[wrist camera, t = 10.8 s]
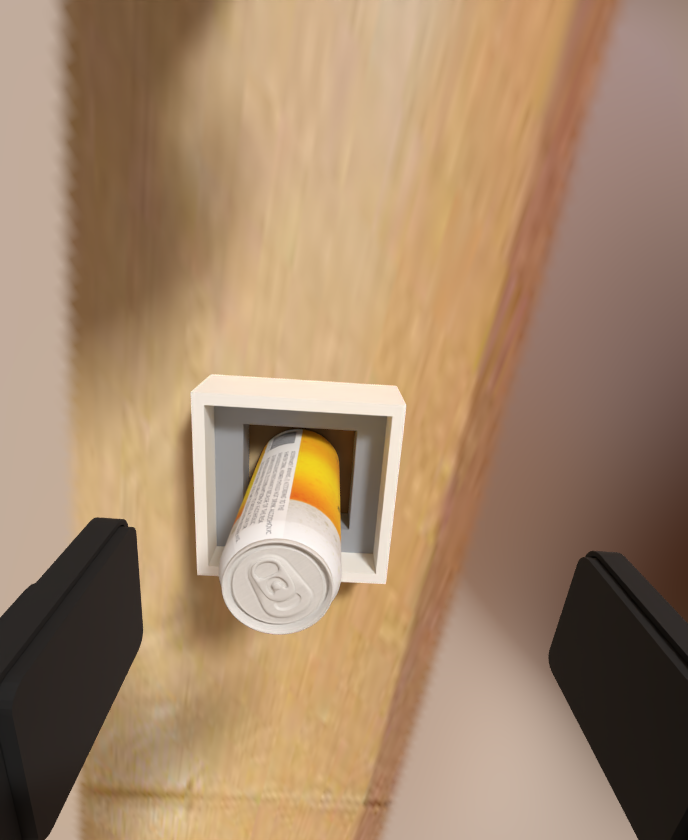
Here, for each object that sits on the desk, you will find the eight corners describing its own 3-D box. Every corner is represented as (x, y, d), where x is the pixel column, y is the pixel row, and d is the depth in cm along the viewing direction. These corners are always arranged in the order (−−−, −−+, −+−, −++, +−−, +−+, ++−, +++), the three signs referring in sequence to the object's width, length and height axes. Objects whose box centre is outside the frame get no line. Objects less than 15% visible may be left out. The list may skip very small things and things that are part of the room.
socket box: (210, 374, 34) (190, 391, 29) (396, 385, 34) (406, 405, 30) (214, 536, 38) (197, 575, 33) (379, 544, 39) (385, 583, 34)
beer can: (284, 508, 37) (254, 658, 23) (246, 446, 36) (187, 566, 21) (352, 477, 37) (363, 612, 22) (316, 412, 35) (304, 513, 21)
